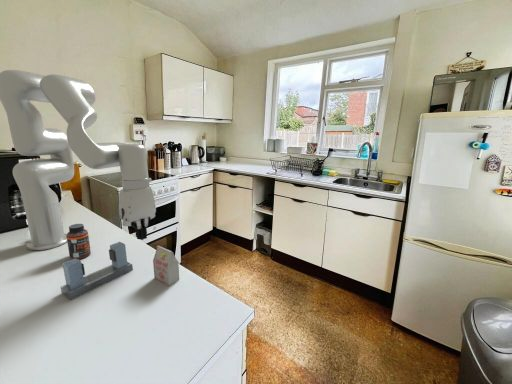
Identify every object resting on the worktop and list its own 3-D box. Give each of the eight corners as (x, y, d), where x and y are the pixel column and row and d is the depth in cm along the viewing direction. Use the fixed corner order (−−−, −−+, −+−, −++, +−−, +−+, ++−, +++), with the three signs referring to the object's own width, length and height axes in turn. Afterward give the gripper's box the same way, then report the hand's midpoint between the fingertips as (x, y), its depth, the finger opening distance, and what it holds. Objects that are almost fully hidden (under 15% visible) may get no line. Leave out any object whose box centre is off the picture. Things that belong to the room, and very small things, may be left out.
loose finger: (110, 266, 73) (107, 246, 72) (121, 261, 76) (119, 241, 74) (115, 269, 72) (113, 248, 70) (127, 264, 75) (125, 244, 73)
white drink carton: (164, 272, 75) (162, 243, 73) (179, 279, 72) (177, 249, 69) (154, 278, 72) (152, 247, 70) (169, 286, 69) (167, 254, 66)
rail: (61, 293, 64) (56, 263, 62) (123, 265, 78) (121, 239, 76) (70, 300, 61) (64, 269, 59) (132, 270, 76) (130, 244, 73)
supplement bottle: (80, 261, 79) (75, 230, 76) (65, 259, 80) (59, 228, 78) (95, 253, 85) (91, 223, 82) (81, 250, 86) (76, 221, 83)
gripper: (149, 179, 82) (154, 228, 87) (104, 186, 70) (112, 244, 74) (164, 181, 79) (168, 233, 83) (118, 190, 66) (126, 250, 71)
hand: (141, 238), depth 79 cm, fingers closed
